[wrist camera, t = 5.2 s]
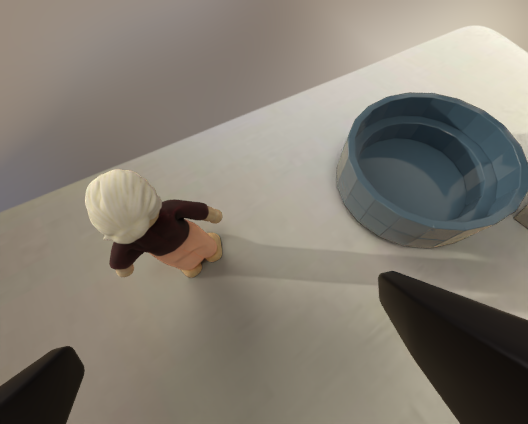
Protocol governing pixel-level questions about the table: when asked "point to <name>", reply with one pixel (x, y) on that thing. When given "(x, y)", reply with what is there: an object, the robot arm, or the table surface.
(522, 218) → the icon cube
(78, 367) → the robot arm
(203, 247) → the grandmother figurine
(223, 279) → the table surface
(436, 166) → the blue pet bowl
